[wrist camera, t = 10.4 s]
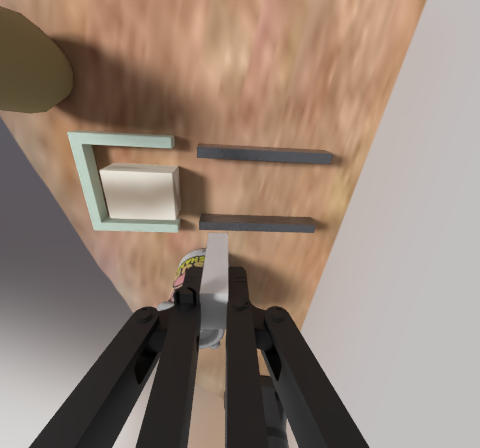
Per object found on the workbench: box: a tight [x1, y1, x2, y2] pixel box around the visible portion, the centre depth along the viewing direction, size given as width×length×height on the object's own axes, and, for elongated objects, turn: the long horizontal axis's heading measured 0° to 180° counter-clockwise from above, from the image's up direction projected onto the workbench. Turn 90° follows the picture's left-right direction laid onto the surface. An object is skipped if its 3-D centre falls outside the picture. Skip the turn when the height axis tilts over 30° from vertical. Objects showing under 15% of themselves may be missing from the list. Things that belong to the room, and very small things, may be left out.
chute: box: [197, 144, 333, 233], centre depth 30 cm, size 11×16×2 cm
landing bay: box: [67, 130, 181, 232], centre depth 29 cm, size 12×11×2 cm
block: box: [99, 163, 181, 220], centre depth 29 cm, size 6×8×4 cm
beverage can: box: [157, 249, 230, 349], centre depth 32 cm, size 9×8×12 cm
